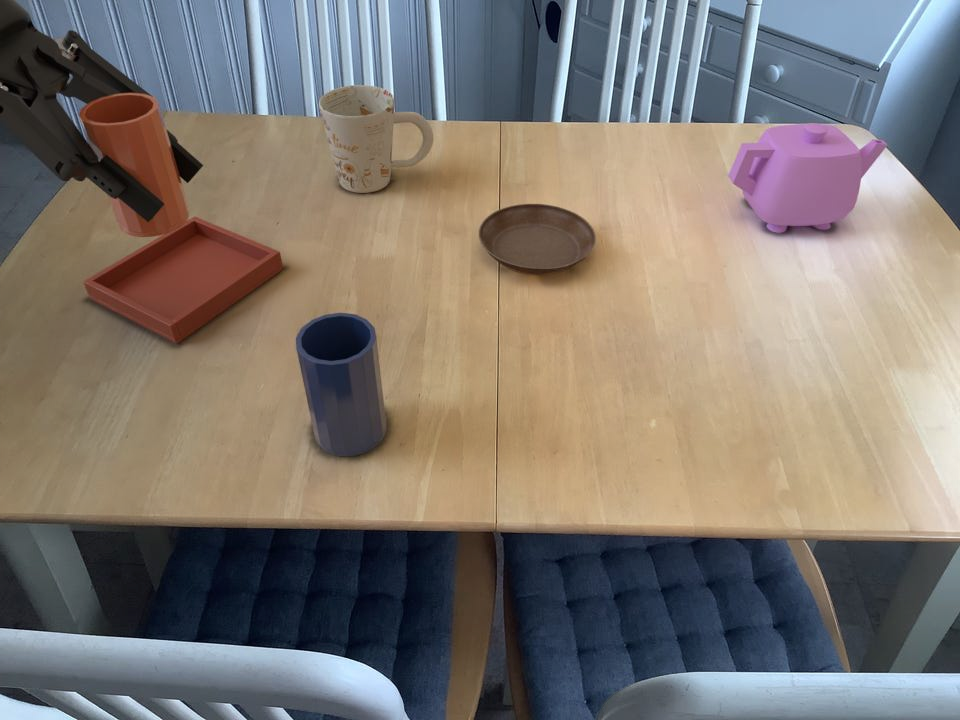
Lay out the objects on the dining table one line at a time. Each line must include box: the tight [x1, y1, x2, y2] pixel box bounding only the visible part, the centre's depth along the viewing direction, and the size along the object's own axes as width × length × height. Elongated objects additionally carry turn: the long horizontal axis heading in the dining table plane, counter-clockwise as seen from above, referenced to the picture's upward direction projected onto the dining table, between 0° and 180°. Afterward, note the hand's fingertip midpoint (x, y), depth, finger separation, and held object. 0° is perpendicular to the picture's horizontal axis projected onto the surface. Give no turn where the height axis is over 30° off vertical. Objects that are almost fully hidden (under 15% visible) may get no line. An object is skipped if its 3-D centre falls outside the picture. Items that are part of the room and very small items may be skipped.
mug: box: [318, 84, 434, 194], centre depth 109 cm, size 10×15×12 cm, turn 101°
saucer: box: [478, 203, 597, 276], centre depth 99 cm, size 15×15×3 cm
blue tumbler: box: [295, 312, 387, 457], centre depth 73 cm, size 7×7×12 cm
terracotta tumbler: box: [78, 93, 190, 238], centre depth 77 cm, size 7×7×12 cm
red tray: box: [82, 216, 284, 345], centre depth 94 cm, size 17×15×3 cm
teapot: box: [727, 122, 888, 234], centre depth 102 cm, size 20×12×13 cm, turn 97°
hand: (176, 192), depth 78 cm, fingers closed on terracotta tumbler, 7 cm apart
